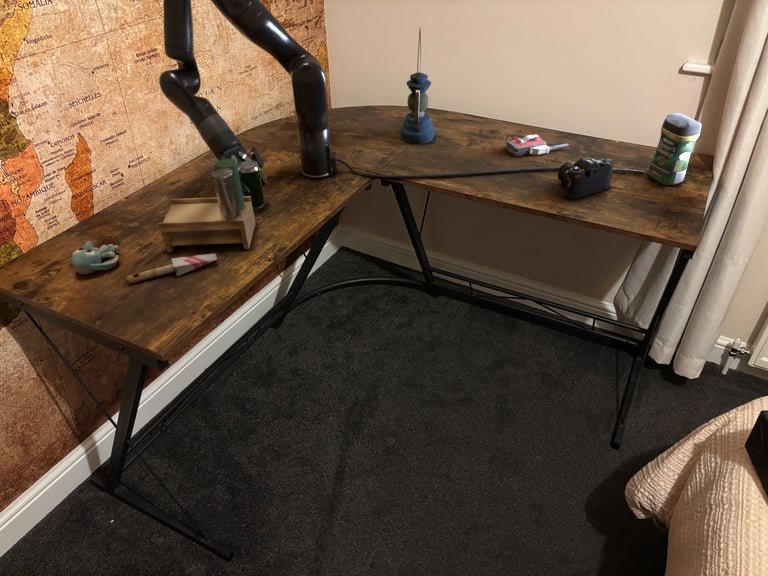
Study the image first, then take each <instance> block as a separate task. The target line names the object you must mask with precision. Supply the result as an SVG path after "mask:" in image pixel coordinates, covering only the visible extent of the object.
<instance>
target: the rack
mask: <svg viewBox="0 0 768 576" xmlns="http://www.w3.org/2000/svg"><path fill="white" fill-rule="evenodd" d="M215 165H216V168H217V170H215V171H213V170H212V172H211V178H212V183H213V189H214V192H215V197H214V196H213V197H191V198H187V197H186V198H171V199H170V203H171V205H170V207H169V209H168V211H167V213H166V215H165V217H164V219H163V221H162V222H161V221H159V222H158V227H159V230H160V233H161V236H162V240H163V242H164V243H163V244H164V246H165V248H166V252H167V253H173V251H174V249H175V247H178V246H199V245H224V244H226V245H227V244H242V245H243V249H244V250H250V247H251V243H252V239H253V236H254V231H255V227H256V225H257V223H256V219H255V218H256V217H255V214H254V209H253V207H252V202H251V196H243V193H242V188H241V183H240V177H239V172H238V167H237V162H236V160H234V159H223V160H220V161H219V160H218V161H217V162H216V163H215Z"/></svg>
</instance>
